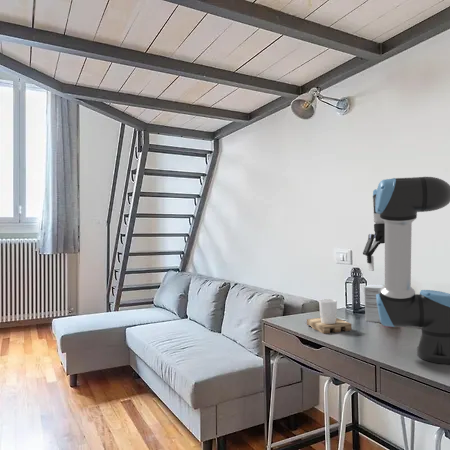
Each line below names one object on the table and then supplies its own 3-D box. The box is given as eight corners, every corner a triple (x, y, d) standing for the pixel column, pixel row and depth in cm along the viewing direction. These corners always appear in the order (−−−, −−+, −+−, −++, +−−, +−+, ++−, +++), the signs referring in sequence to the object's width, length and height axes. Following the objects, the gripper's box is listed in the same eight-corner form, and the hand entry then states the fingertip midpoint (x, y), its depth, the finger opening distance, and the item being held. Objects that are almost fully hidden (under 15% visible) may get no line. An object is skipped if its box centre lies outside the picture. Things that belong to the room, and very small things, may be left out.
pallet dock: (351, 330, 184) (351, 323, 184) (323, 333, 181) (323, 326, 181) (332, 322, 200) (332, 316, 200) (307, 325, 196) (306, 319, 196)
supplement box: (369, 317, 208) (368, 284, 208) (388, 318, 204) (387, 284, 204) (365, 321, 200) (363, 286, 200) (384, 323, 195) (383, 287, 195)
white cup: (335, 320, 191) (335, 299, 191) (338, 324, 184) (338, 302, 184) (318, 320, 192) (318, 299, 192) (321, 324, 184) (320, 302, 184)
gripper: (400, 222, 193) (401, 267, 193) (353, 223, 186) (355, 270, 186) (411, 221, 186) (413, 268, 186) (363, 223, 179) (365, 272, 179)
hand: (384, 269), depth 186 cm, fingers open, 13 cm apart
